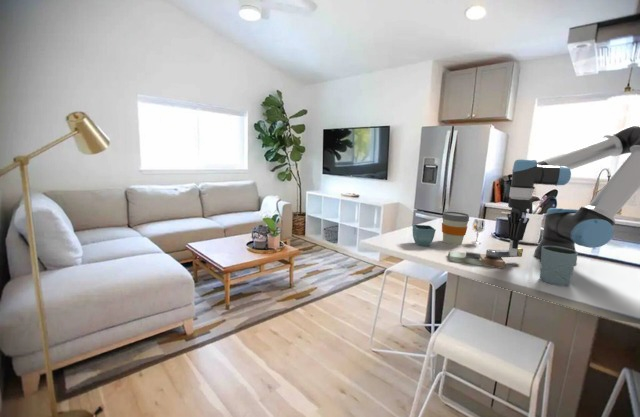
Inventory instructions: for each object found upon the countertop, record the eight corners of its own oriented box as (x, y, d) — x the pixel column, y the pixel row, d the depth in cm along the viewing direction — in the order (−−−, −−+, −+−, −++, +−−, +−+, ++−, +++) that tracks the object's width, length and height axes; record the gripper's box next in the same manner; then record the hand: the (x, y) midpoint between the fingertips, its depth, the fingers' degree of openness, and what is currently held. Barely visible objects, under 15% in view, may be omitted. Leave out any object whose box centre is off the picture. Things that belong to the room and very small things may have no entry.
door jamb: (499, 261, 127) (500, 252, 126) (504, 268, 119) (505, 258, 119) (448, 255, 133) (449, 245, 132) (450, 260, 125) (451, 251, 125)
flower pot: (434, 247, 143) (436, 229, 141) (415, 246, 143) (417, 228, 142) (427, 242, 152) (429, 225, 150) (410, 241, 152) (412, 224, 150)
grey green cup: (578, 288, 103) (585, 255, 101) (545, 285, 105) (551, 252, 103) (560, 277, 113) (566, 246, 111) (530, 274, 114) (536, 243, 112)
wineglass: (484, 245, 152) (487, 222, 150) (471, 243, 153) (475, 221, 151) (480, 242, 158) (483, 219, 156) (468, 240, 159) (471, 218, 157)
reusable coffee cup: (434, 239, 159) (437, 211, 156) (454, 238, 162) (458, 211, 159) (449, 246, 147) (453, 216, 144) (471, 245, 150) (475, 216, 147)
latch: (515, 253, 129) (517, 246, 129) (525, 257, 125) (526, 249, 125) (483, 255, 125) (484, 247, 125) (491, 258, 121) (492, 251, 121)
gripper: (539, 200, 113) (530, 260, 117) (522, 197, 126) (514, 252, 129) (517, 199, 114) (509, 259, 118) (503, 196, 127) (496, 250, 130)
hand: (512, 255), depth 123 cm, fingers closed
